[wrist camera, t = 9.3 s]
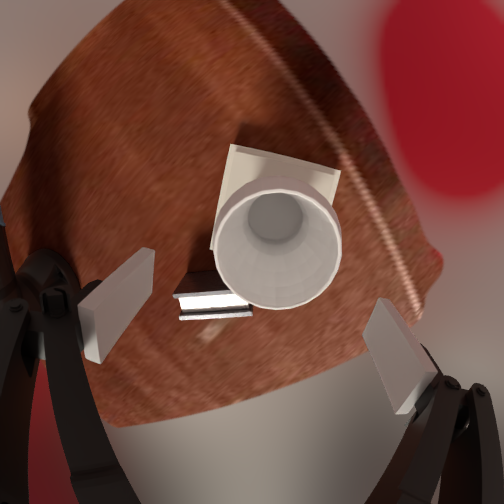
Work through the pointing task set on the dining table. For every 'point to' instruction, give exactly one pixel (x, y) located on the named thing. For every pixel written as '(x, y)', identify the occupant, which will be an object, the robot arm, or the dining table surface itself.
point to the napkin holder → (208, 297)
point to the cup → (277, 242)
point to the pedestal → (272, 172)
